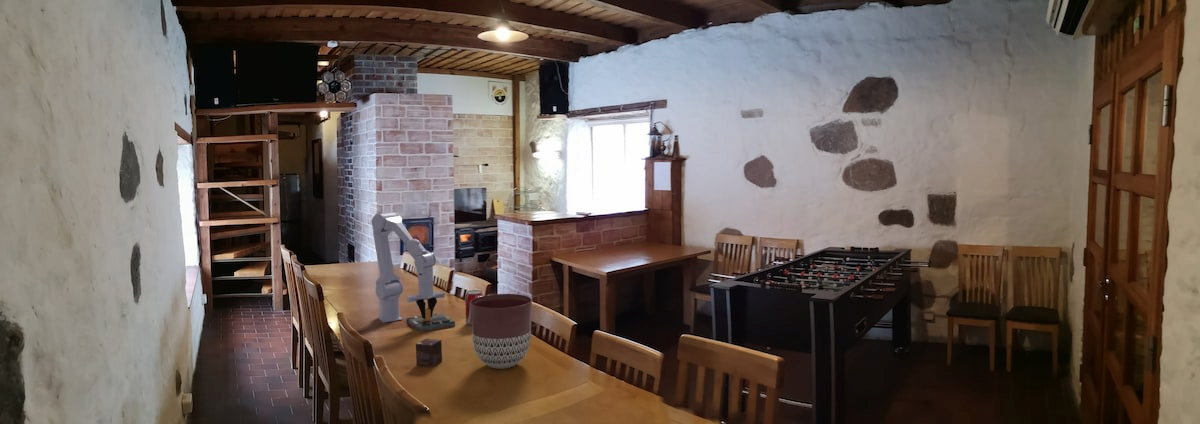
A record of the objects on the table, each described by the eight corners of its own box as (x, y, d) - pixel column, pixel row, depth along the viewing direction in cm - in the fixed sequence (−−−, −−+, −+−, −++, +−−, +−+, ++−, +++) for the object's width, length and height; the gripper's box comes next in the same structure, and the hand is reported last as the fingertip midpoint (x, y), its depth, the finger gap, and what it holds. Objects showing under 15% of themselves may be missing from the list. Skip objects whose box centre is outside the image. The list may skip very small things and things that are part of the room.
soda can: (486, 321, 256) (485, 289, 255) (481, 326, 249) (480, 293, 247) (469, 321, 256) (468, 289, 255) (463, 325, 249) (462, 293, 248)
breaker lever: (423, 319, 250) (422, 308, 250) (428, 318, 251) (427, 307, 251) (425, 321, 248) (425, 310, 247) (430, 320, 249) (430, 309, 248)
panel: (408, 323, 253) (408, 317, 252) (442, 318, 260) (442, 312, 260) (420, 332, 241) (419, 325, 241) (455, 326, 249) (454, 319, 249)
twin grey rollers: (405, 321, 256) (405, 317, 256) (436, 316, 263) (436, 313, 263) (408, 323, 253) (408, 319, 253) (439, 318, 260) (439, 314, 260)
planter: (515, 380, 190) (513, 310, 188) (459, 372, 197) (457, 305, 195) (543, 360, 208) (542, 296, 206) (491, 353, 215) (489, 291, 213)
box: (442, 361, 207) (442, 339, 207) (432, 367, 202) (431, 345, 201) (426, 359, 209) (426, 338, 209) (415, 365, 204) (415, 343, 203)
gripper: (410, 287, 241) (411, 322, 242) (447, 283, 249) (448, 317, 250) (405, 284, 247) (406, 318, 248) (440, 280, 255) (441, 313, 256)
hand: (426, 317), depth 249 cm, fingers closed on breaker lever, 2 cm apart
